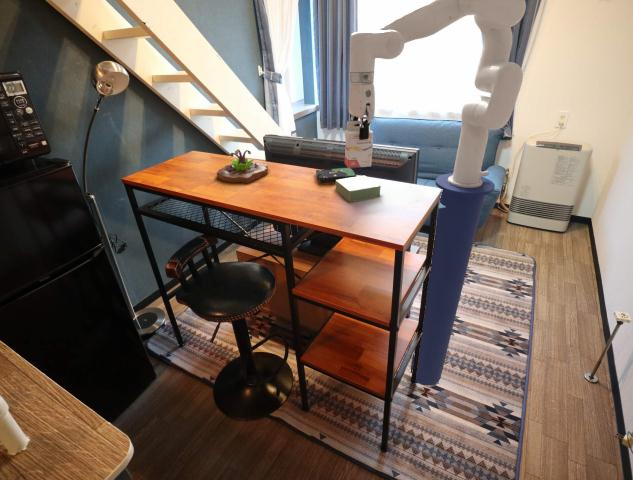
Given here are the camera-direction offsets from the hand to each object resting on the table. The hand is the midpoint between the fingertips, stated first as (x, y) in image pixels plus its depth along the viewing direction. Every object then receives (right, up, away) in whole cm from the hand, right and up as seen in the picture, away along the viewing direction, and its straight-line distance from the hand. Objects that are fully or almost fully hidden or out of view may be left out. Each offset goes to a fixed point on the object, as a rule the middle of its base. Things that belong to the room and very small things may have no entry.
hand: (359, 136), depth 116 cm
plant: (-46, -7, +31) cm, 56 cm away
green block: (0, -18, +10) cm, 20 cm away
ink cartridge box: (0, -9, +5) cm, 10 cm away
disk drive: (-7, -10, +24) cm, 27 cm away
